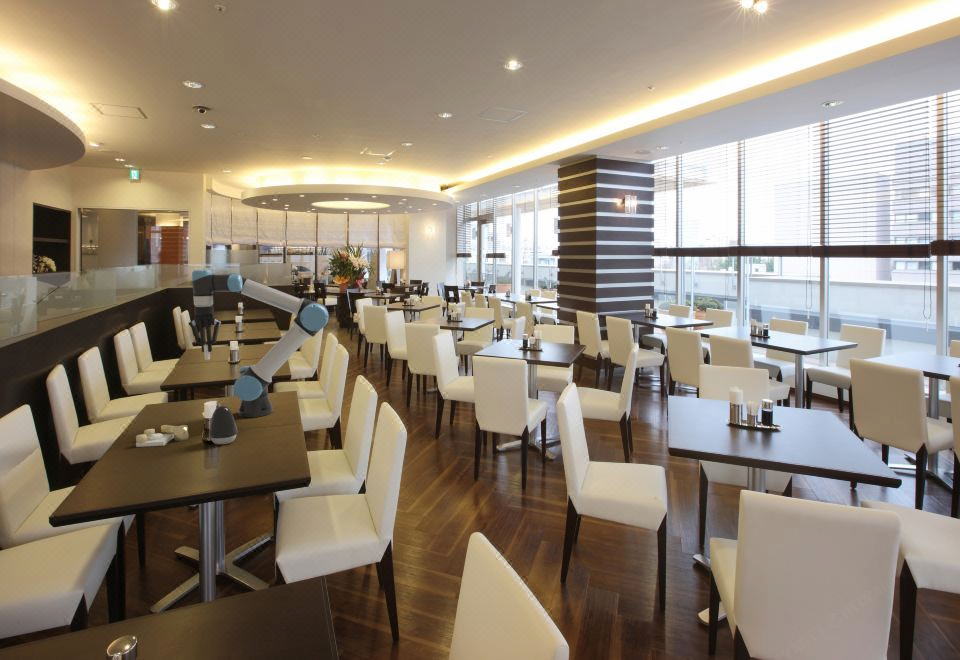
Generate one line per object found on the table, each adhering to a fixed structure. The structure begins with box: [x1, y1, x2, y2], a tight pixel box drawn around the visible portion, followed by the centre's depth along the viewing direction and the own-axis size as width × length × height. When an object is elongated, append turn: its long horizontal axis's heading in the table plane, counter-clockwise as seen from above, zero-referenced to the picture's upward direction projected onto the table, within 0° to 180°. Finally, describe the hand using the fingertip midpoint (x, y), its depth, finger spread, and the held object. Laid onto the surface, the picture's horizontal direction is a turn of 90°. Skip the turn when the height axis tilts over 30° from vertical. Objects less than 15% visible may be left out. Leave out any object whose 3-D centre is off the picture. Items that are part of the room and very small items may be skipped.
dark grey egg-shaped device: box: [208, 405, 238, 445], centre depth 216 cm, size 10×10×15 cm
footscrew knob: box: [160, 424, 189, 442], centre depth 220 cm, size 12×5×5 cm, turn 72°
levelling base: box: [135, 428, 175, 448], centre depth 218 cm, size 10×14×4 cm
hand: (207, 359), depth 237 cm, fingers closed
